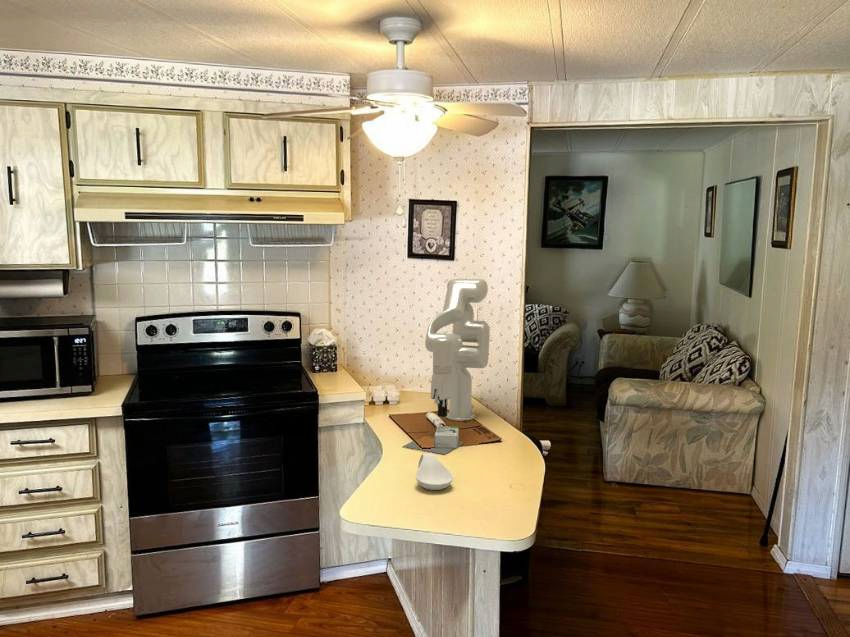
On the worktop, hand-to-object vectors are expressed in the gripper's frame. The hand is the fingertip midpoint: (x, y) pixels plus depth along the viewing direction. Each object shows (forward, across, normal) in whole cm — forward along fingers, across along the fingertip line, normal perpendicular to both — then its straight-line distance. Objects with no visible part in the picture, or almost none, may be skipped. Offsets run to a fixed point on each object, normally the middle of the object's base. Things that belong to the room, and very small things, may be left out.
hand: (442, 416), depth 265 cm
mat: (+10, +7, 0) cm, 12 cm away
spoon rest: (+10, +39, +17) cm, 43 cm away
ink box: (+7, -3, +1) cm, 7 cm away
